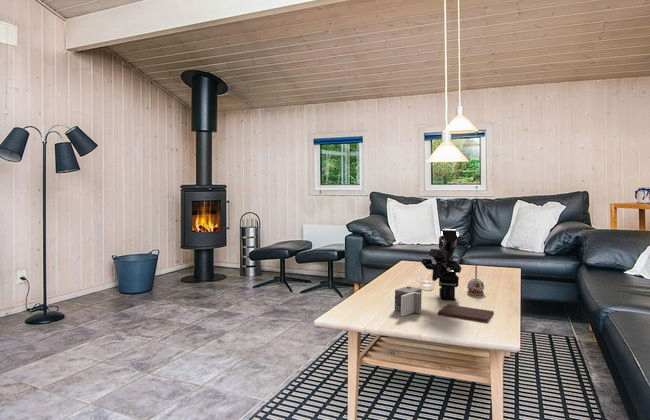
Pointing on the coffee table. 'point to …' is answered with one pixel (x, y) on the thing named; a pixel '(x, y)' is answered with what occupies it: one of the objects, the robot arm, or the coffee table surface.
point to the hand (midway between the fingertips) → (433, 280)
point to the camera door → (410, 303)
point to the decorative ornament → (475, 285)
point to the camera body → (402, 292)
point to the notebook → (466, 313)
